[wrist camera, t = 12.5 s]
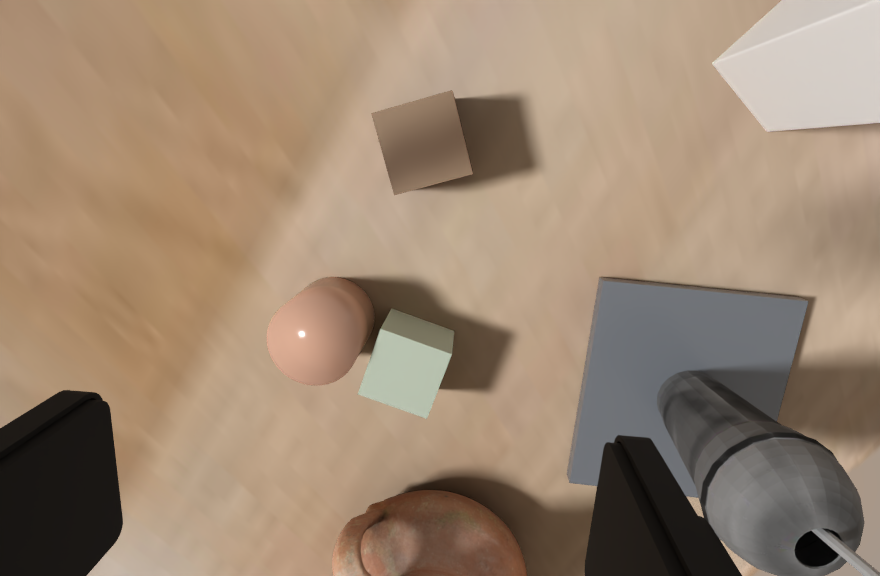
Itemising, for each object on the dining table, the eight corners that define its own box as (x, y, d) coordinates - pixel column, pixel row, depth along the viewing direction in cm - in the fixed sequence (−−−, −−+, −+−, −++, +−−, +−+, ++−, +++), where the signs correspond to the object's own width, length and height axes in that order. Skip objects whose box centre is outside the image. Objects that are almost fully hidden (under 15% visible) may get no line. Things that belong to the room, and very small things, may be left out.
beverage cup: (617, 417, 40) (752, 662, 21) (672, 334, 38) (876, 518, 19) (702, 460, 40) (912, 740, 21) (761, 380, 39) (1048, 606, 19)
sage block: (391, 307, 41) (380, 328, 36) (454, 330, 41) (451, 354, 36) (371, 366, 42) (357, 394, 37) (432, 388, 42) (426, 418, 37)
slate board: (599, 276, 39) (603, 280, 38) (798, 296, 38) (808, 301, 37) (566, 473, 43) (569, 482, 42) (747, 494, 42) (754, 504, 41)
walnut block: (384, 118, 37) (371, 113, 32) (454, 98, 37) (452, 90, 32) (404, 190, 38) (394, 195, 34) (472, 171, 38) (472, 174, 33)
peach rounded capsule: (297, 273, 40) (267, 293, 34) (377, 281, 40) (360, 302, 34) (295, 349, 42) (266, 380, 36) (372, 357, 42) (355, 390, 36)
